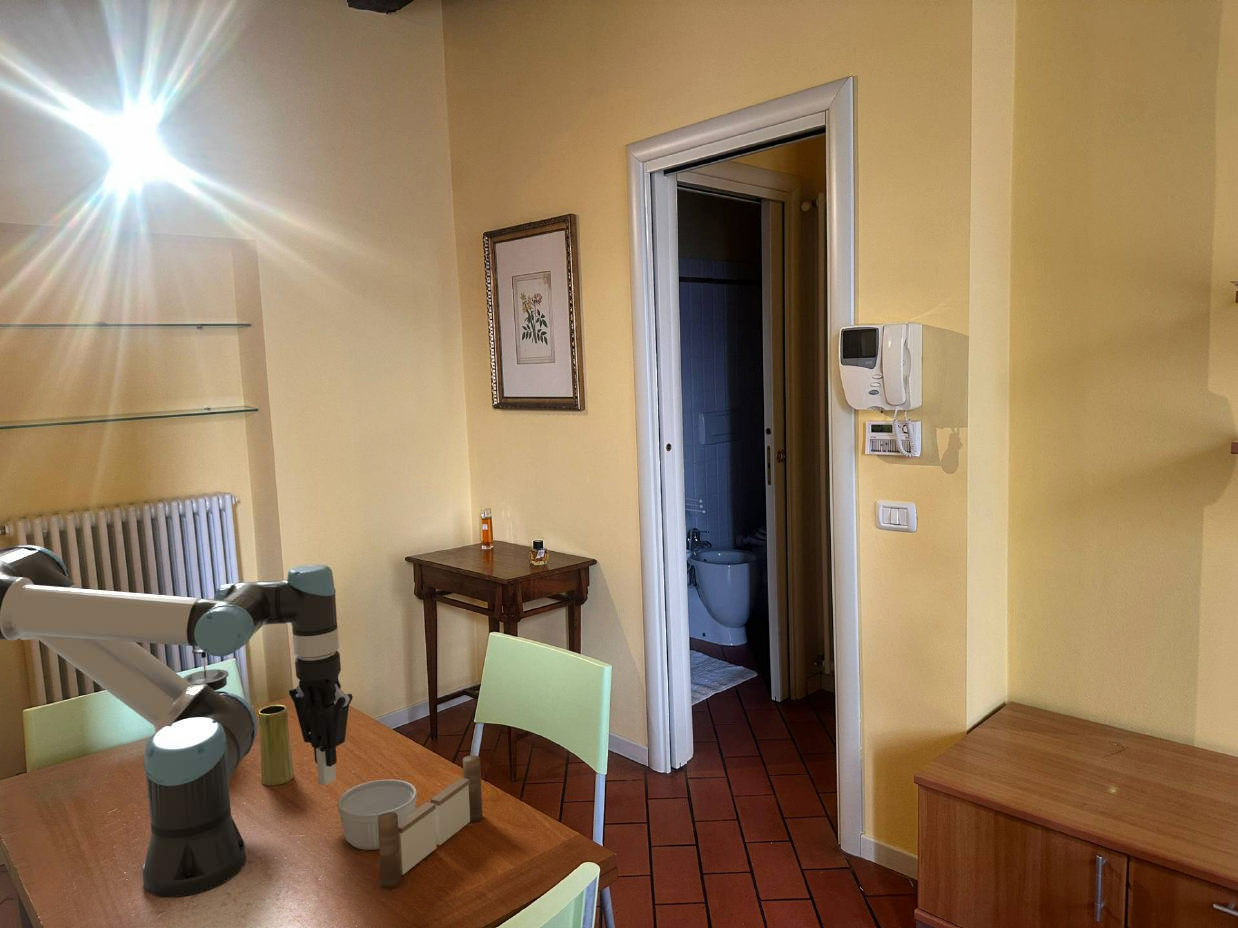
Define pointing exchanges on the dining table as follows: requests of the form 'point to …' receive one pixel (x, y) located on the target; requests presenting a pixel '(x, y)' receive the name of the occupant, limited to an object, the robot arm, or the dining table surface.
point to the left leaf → (417, 836)
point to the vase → (275, 746)
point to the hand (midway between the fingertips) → (327, 781)
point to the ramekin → (373, 809)
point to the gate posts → (391, 833)
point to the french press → (208, 675)
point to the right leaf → (451, 809)
